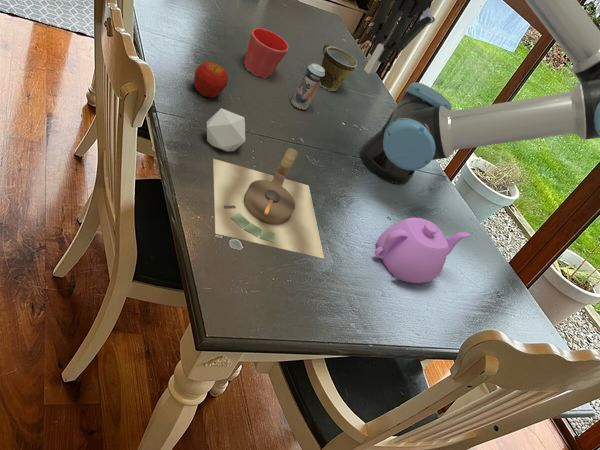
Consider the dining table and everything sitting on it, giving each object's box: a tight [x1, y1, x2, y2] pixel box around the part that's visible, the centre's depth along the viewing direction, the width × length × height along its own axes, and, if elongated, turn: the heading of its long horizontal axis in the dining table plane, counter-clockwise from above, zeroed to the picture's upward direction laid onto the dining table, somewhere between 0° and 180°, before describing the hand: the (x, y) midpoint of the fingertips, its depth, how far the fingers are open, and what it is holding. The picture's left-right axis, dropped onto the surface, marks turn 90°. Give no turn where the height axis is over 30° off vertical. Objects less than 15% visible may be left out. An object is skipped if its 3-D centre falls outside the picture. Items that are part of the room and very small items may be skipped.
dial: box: [244, 147, 299, 224], centre depth 115 cm, size 18×10×7 cm, turn 170°
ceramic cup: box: [321, 44, 358, 91], centre depth 169 cm, size 13×10×10 cm
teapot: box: [374, 217, 471, 284], centre depth 120 cm, size 20×13×12 cm, turn 110°
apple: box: [194, 61, 229, 98], centre depth 136 cm, size 8×8×8 cm
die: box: [206, 107, 246, 152], centre depth 123 cm, size 8×9×10 cm
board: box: [212, 158, 325, 260], centre depth 115 cm, size 22×22×1 cm
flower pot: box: [243, 27, 290, 78], centre depth 156 cm, size 11×11×10 cm
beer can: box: [291, 62, 325, 110], centre depth 151 cm, size 5×5×12 cm
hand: (369, 71), depth 126 cm, fingers closed
